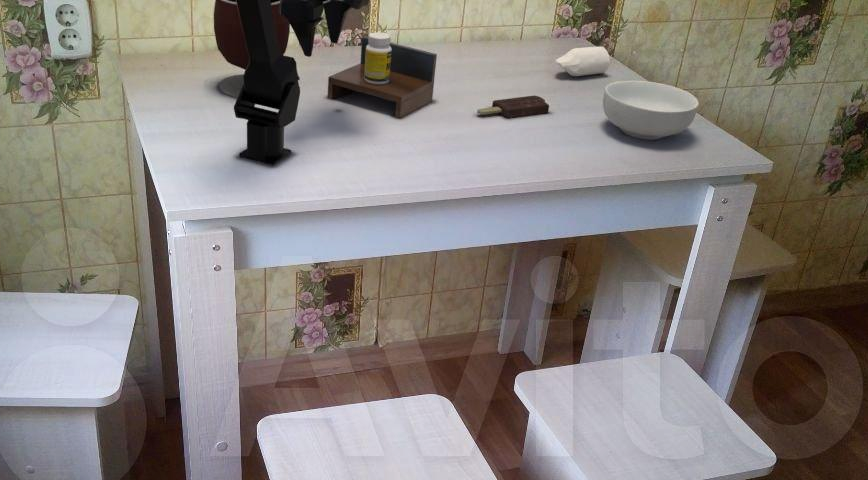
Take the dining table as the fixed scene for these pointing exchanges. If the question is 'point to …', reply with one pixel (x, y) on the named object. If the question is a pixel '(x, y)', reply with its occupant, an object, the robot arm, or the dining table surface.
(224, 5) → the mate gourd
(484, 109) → the ice cream bar
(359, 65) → the shelf
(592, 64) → the white tapered cylinder
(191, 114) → the dining table surface
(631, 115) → the cereal bowl
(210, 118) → the dining table surface
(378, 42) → the supplement bottle
